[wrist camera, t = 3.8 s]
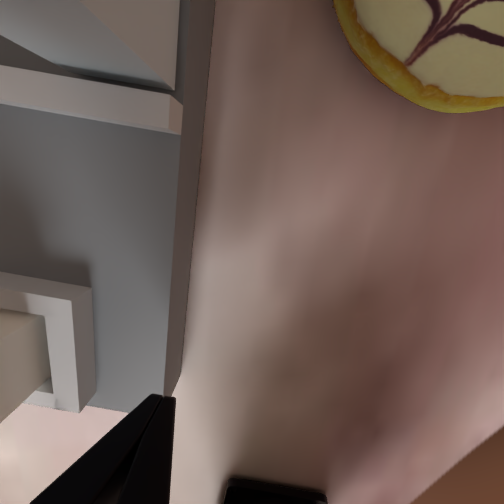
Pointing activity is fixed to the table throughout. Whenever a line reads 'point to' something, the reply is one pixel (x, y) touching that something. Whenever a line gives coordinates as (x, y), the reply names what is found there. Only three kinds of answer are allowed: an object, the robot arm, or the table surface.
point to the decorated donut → (431, 49)
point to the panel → (102, 217)
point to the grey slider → (99, 36)
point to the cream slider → (21, 358)
